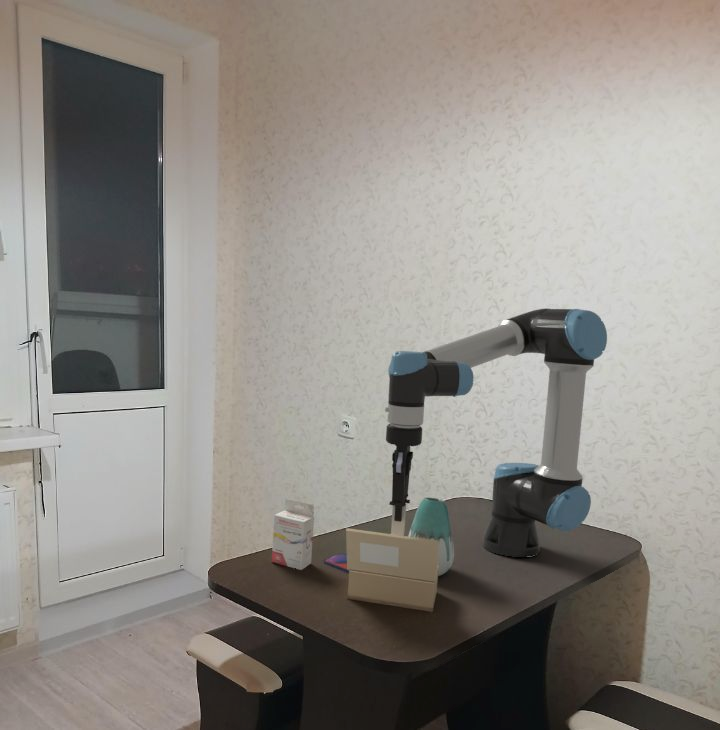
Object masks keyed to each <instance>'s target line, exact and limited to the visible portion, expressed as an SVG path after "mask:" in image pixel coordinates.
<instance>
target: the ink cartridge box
mask: <svg viewBox="0 0 720 730" xmlns="http://www.w3.org/2000/svg"><path fill="white" fill-rule="evenodd" d="M296 506H300V507H303V508H299V507H296ZM314 508H315V506H314V504H312V503H309V502H306V501H305V502H304V501H299V500H295V499H291V498H285V501H284V509H283V510H282V511H280V512H278V513H275V514H274V519H273V520H274V521H273V534H272V546H271V547H272V551H271V563H275V564H278V565H282V566H283V567H284V566H285V567H288V568H291V569H295V568H296V569H295V570H299V571H303V570H304V569H305V568H306V567H308V566H309V565H311V563H312V555H313V554H312V553H313V540H314V527H315V526H314V524H315V517H314V514H315V513H314V510H315V509H314Z"/></svg>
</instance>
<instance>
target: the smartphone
mask: <svg viewBox="0 0 720 730" xmlns="http://www.w3.org/2000/svg"><path fill="white" fill-rule="evenodd" d="M323 564H325V565H327V566H330V567H333V568H335V569H337V570H340V571H341V572H345V573H348V574H349V570H348V569H347V553H346V554H345V553H337V554H335V555H333V556H330V557H326V558H324V559H323Z"/></svg>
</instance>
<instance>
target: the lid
mask: <svg viewBox="0 0 720 730" xmlns="http://www.w3.org/2000/svg"><path fill="white" fill-rule="evenodd" d="M345 538H346V539H345V544H346V545H345V546H346V555H347V569H348V570H349V571H356V572H363V573H370V574H376V575H383V576H390V577H397V578H404V579H410V580H417V581H424V582H431V583H435V582H436V583H437V584H438V580H437V568H438V547H439V541H438V540H431V539H423V538H416V537H408V535H404V536H401V535H393V534H391V533H385V532H377V531H371V530H363V529H362V530H361V529H355V528H349V527H346V529H345Z"/></svg>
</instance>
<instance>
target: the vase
mask: <svg viewBox="0 0 720 730" xmlns="http://www.w3.org/2000/svg"><path fill="white" fill-rule="evenodd" d="M452 533H453V532H452V529H451V522H450V515H449V509H448V506H447V504H446V501H444V500H443V499H441V498H437V497H424V498H422V500H421V501H420V502H419V504H418V506H417V508H416V511H415V515H414V517H413V519H412V523H411V526H410V527H409V532H408V535H407V536H408V537H416V538H423V539H431V540H438V541H439V547H438V566H439V567H438V577H440V576H442V575H444V574H446V573H447V572H448V571H449V570H450V568H451V567H452V565H453V562H454V557H455V547H454V546H455V545H454V539H453V536H452V535H453V534H452Z"/></svg>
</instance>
